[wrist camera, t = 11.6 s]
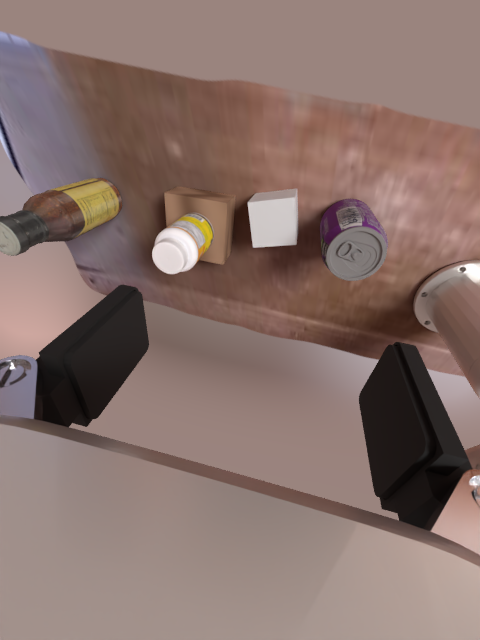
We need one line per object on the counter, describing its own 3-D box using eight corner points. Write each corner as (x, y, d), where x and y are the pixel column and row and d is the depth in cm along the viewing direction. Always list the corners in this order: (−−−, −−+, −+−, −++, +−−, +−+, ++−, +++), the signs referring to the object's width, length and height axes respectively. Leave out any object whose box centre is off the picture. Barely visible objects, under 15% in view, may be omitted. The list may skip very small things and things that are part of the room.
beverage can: (310, 233, 41) (309, 266, 31) (340, 187, 37) (349, 209, 27) (349, 255, 42) (360, 294, 32) (383, 213, 37) (407, 243, 28)
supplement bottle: (191, 254, 42) (162, 286, 34) (172, 220, 39) (135, 245, 31) (222, 241, 39) (198, 271, 31) (203, 204, 37) (172, 227, 29)
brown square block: (235, 195, 40) (227, 203, 36) (231, 252, 45) (223, 264, 41) (178, 186, 41) (164, 192, 37) (180, 243, 46) (168, 254, 42)
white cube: (297, 188, 38) (295, 197, 33) (298, 231, 41) (296, 244, 36) (255, 193, 39) (247, 202, 35) (259, 234, 43) (252, 247, 38)
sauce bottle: (89, 207, 46) (-26, 250, 31) (89, 169, 43) (-42, 195, 27) (124, 223, 47) (29, 273, 31) (128, 187, 43) (21, 223, 27)
